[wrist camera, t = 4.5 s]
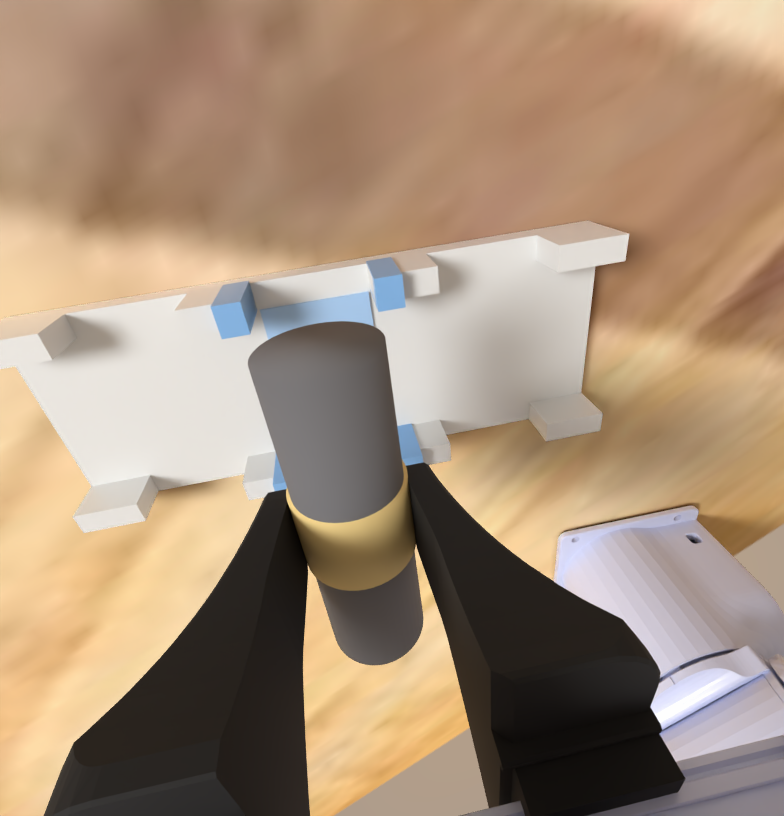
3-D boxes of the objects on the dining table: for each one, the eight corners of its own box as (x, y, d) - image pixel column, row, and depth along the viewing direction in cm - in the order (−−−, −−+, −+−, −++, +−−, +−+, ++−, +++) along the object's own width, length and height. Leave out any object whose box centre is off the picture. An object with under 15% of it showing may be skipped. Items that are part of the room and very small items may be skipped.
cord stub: (252, 332, 11) (231, 397, 8) (380, 311, 11) (400, 368, 9) (329, 588, 16) (332, 678, 14) (416, 571, 17) (435, 656, 14)
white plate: (588, 218, 19) (639, 233, 16) (569, 401, 24) (607, 439, 21) (3, 315, 18) (-60, 352, 15) (110, 489, 23) (78, 544, 20)
